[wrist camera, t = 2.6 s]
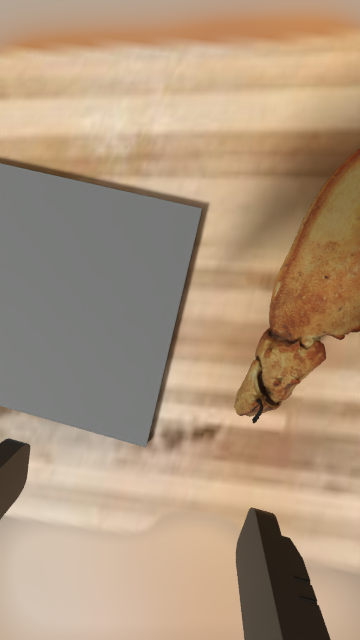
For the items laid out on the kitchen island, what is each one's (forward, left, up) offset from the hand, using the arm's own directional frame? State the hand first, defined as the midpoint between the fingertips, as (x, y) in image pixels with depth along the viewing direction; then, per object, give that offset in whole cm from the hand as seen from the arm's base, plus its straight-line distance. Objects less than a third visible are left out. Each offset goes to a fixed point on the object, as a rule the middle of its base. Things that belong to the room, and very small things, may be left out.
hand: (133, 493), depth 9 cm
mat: (+14, -2, -11) cm, 18 cm away
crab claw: (-5, +1, -8) cm, 9 cm away
